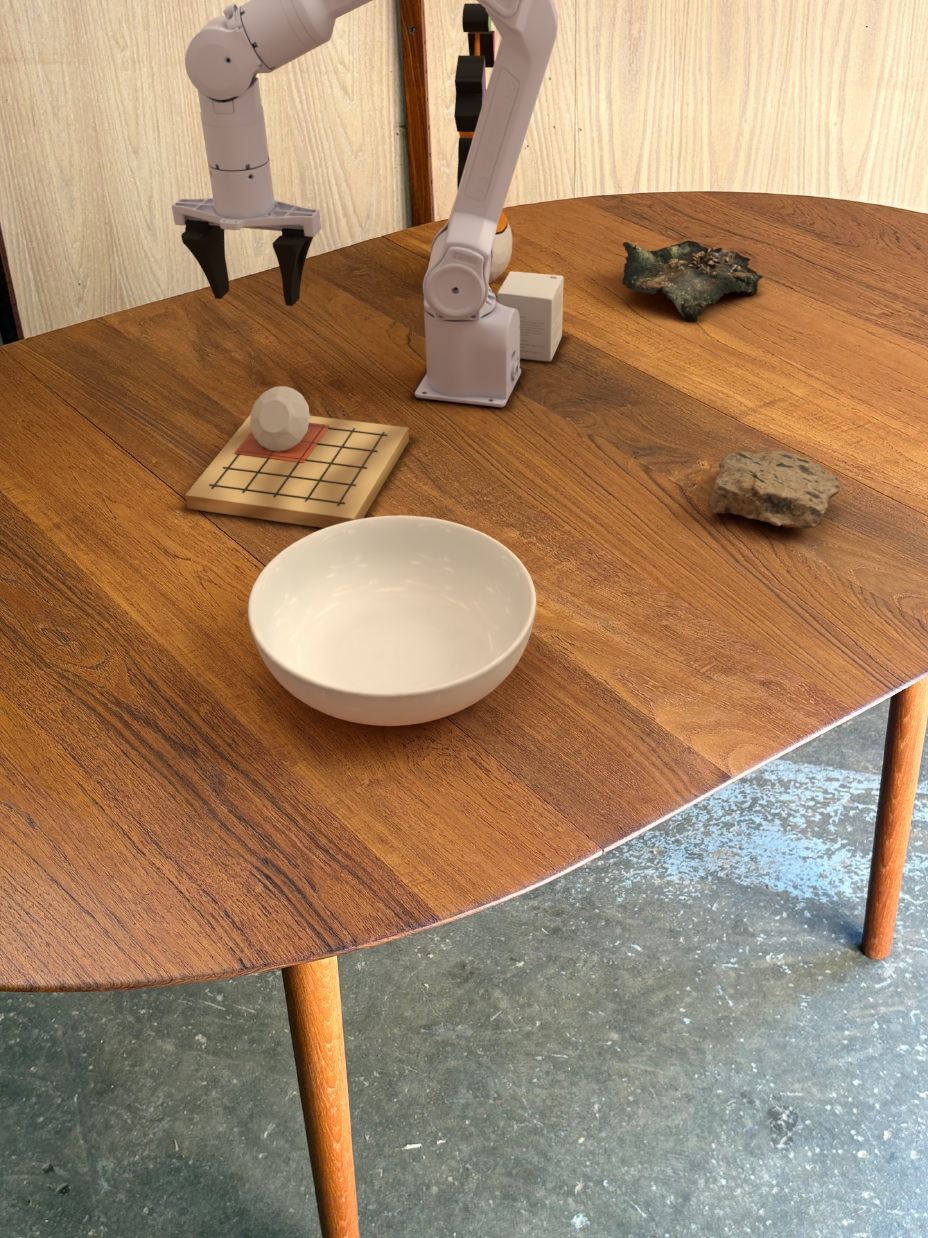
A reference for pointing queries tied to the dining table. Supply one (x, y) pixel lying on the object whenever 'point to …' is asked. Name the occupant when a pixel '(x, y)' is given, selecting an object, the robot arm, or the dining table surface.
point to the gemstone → (280, 418)
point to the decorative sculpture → (478, 110)
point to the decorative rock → (688, 274)
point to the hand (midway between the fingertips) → (257, 298)
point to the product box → (535, 311)
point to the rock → (773, 488)
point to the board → (302, 474)
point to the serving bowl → (392, 618)
